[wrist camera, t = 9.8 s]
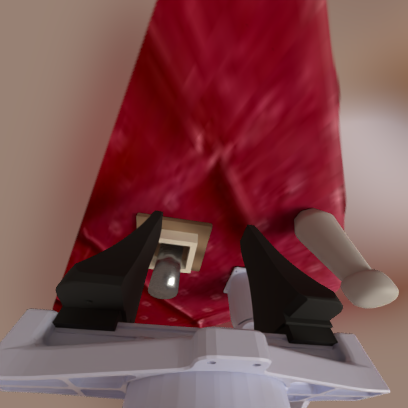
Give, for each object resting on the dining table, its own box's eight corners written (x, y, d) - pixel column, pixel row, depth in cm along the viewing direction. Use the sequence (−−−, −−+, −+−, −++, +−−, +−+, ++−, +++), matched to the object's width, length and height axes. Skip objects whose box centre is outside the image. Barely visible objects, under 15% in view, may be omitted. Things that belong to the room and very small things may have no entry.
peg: (180, 255, 30) (174, 300, 24) (159, 251, 30) (146, 296, 23) (185, 240, 28) (180, 285, 21) (162, 236, 28) (149, 281, 21)
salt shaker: (293, 236, 29) (347, 320, 18) (284, 213, 26) (342, 297, 15) (328, 223, 27) (411, 306, 16) (323, 197, 24) (419, 278, 14)
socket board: (199, 267, 34) (198, 280, 31) (139, 260, 32) (134, 273, 30) (212, 223, 27) (212, 235, 25) (138, 212, 26) (131, 224, 23)
